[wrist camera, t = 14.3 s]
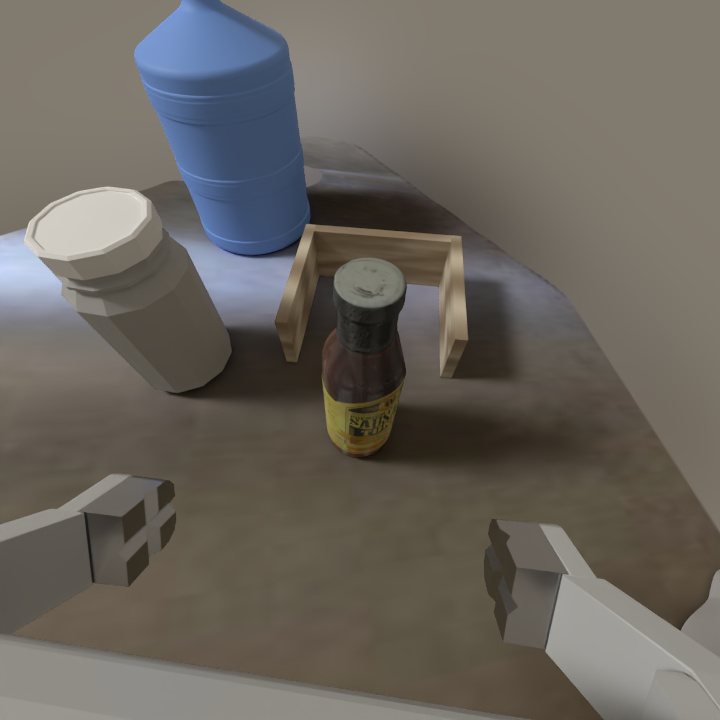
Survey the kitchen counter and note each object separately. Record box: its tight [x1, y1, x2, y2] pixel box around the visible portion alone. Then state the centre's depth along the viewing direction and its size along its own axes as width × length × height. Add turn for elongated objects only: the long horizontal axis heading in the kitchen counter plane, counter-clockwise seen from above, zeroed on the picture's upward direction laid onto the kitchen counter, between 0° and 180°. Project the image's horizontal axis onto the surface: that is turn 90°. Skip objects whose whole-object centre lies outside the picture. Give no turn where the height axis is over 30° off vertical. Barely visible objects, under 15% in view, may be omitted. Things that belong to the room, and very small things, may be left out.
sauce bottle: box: [322, 258, 407, 457], centre depth 27 cm, size 6×6×20 cm
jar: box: [24, 187, 232, 393], centre depth 32 cm, size 10×10×18 cm
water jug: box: [134, 0, 310, 255], centre depth 42 cm, size 16×16×28 cm
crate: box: [275, 224, 468, 378], centre depth 40 cm, size 15×18×7 cm
